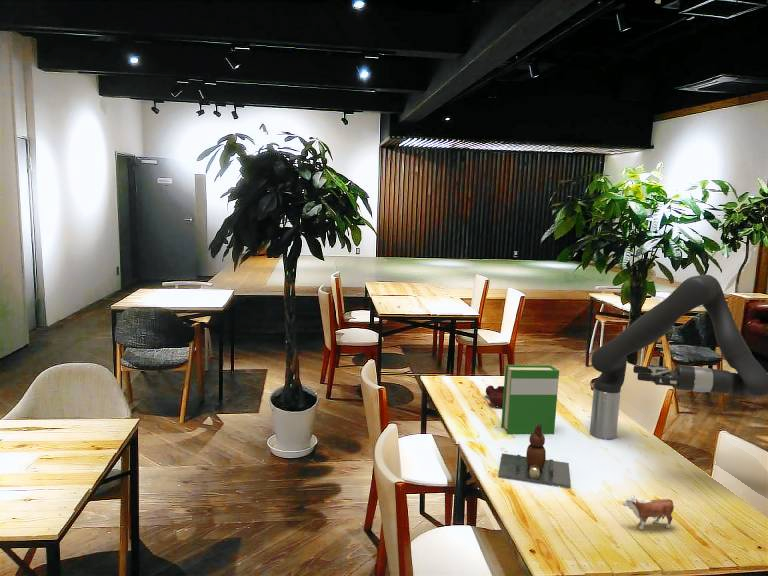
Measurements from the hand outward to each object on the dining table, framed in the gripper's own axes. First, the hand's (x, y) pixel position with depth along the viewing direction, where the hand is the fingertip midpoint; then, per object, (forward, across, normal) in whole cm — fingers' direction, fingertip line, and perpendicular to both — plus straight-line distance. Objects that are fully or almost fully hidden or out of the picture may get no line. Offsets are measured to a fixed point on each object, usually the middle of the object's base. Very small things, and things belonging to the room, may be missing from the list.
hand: (635, 372), depth 178 cm
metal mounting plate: (+28, +11, +32) cm, 44 cm away
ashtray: (+40, -54, +32) cm, 75 cm away
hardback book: (+31, -24, +32) cm, 51 cm away
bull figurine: (-1, +34, +32) cm, 47 cm away
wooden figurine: (+28, +11, +31) cm, 43 cm away
